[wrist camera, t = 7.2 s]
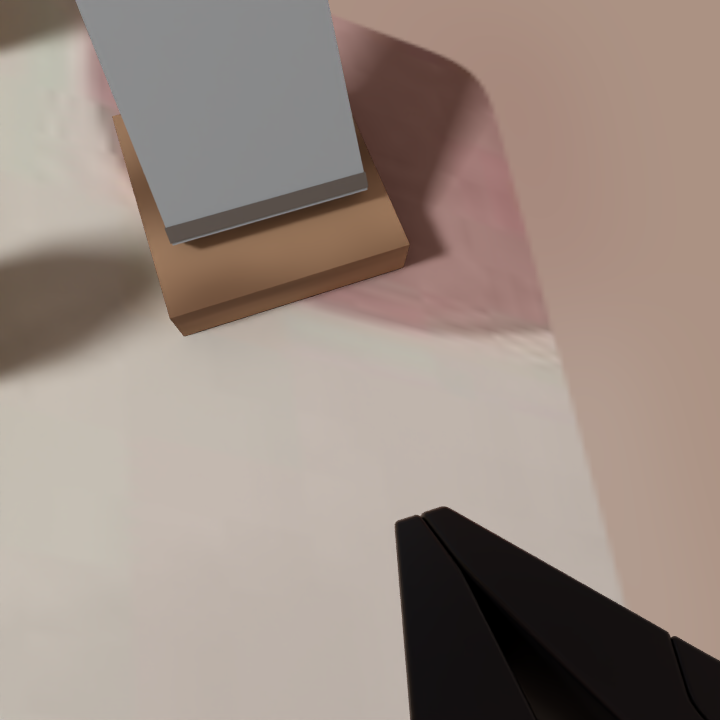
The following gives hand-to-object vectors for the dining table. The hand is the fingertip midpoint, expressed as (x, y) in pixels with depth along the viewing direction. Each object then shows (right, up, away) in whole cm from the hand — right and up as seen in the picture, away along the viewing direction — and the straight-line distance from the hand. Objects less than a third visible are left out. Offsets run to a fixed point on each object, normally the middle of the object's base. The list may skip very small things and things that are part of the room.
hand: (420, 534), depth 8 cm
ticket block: (-5, +10, +16) cm, 19 cm away
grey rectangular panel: (-5, +9, +14) cm, 17 cm away
